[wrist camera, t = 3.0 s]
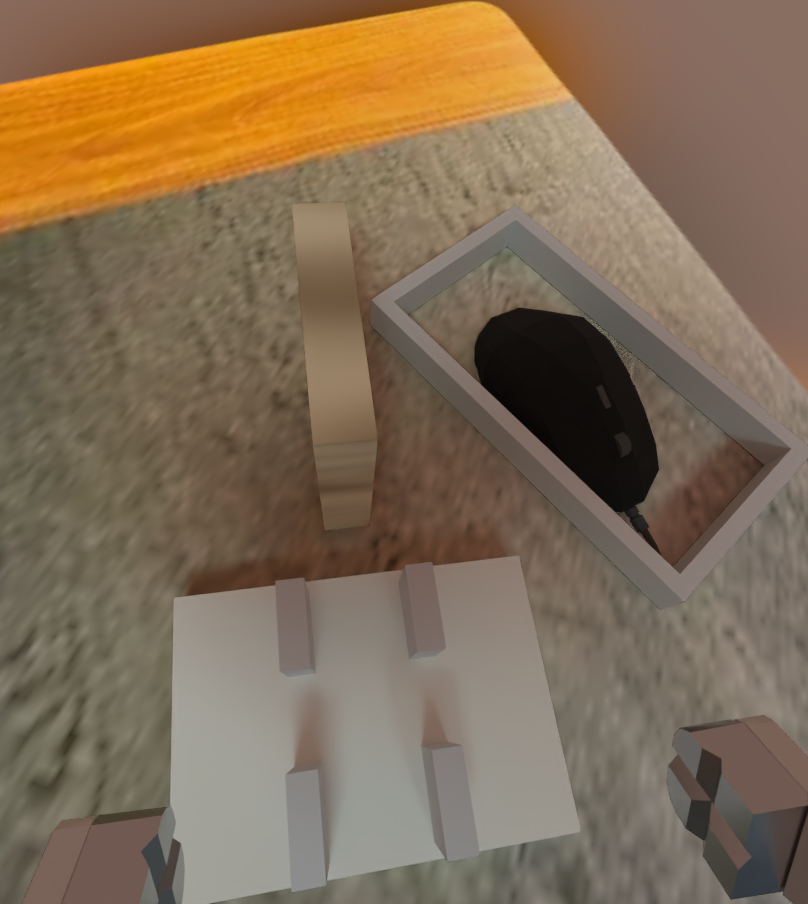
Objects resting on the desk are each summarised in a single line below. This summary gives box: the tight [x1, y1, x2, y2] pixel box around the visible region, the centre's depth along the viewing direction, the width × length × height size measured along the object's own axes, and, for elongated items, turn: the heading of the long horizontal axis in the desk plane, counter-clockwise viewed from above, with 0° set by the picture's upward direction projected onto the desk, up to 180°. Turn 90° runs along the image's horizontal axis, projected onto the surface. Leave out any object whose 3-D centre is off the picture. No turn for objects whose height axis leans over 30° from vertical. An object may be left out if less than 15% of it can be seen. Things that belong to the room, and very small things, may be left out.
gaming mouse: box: [475, 308, 661, 556], centre depth 28 cm, size 6×15×4 cm, turn 27°
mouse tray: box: [370, 205, 808, 610], centre depth 29 cm, size 20×11×2 cm, turn 42°
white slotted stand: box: [170, 555, 581, 904], centre depth 21 cm, size 10×14×4 cm
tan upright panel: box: [292, 202, 378, 530], centre depth 24 cm, size 11×2×9 cm, turn 8°
